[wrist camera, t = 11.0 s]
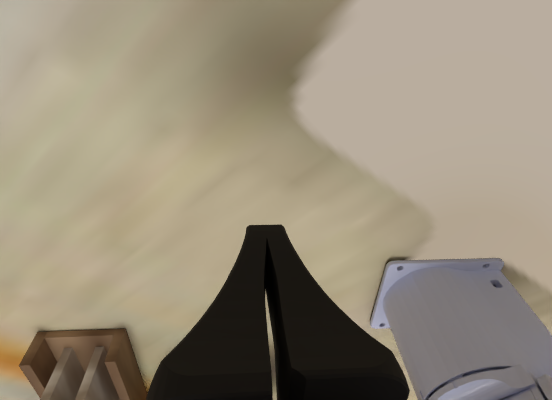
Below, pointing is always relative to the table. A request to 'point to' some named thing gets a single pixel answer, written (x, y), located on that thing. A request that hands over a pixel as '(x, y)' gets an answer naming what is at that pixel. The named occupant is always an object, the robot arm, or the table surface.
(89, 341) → the dish rack
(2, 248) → the table surface
